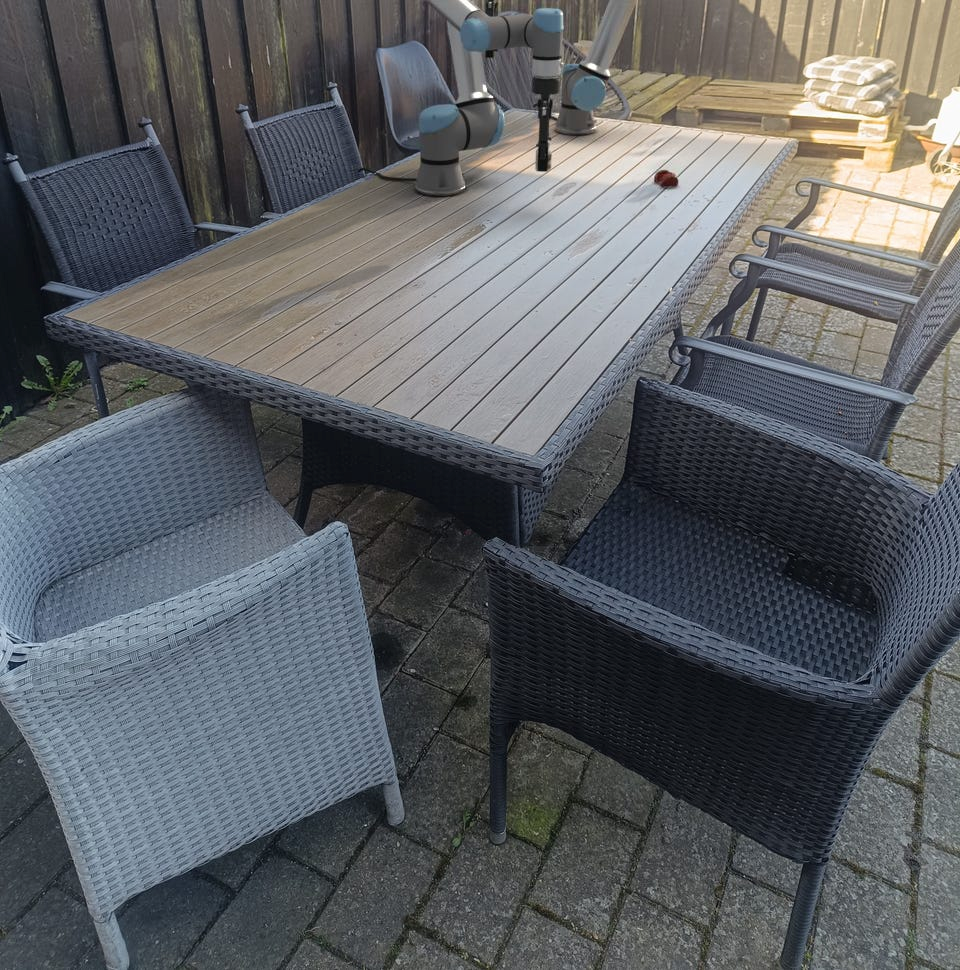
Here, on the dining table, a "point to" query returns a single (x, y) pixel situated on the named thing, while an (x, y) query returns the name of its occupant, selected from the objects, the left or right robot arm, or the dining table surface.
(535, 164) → the pill bottle
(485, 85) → the left robot arm
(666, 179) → the dark red rounded lump
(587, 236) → the dining table surface
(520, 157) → the dining table surface
